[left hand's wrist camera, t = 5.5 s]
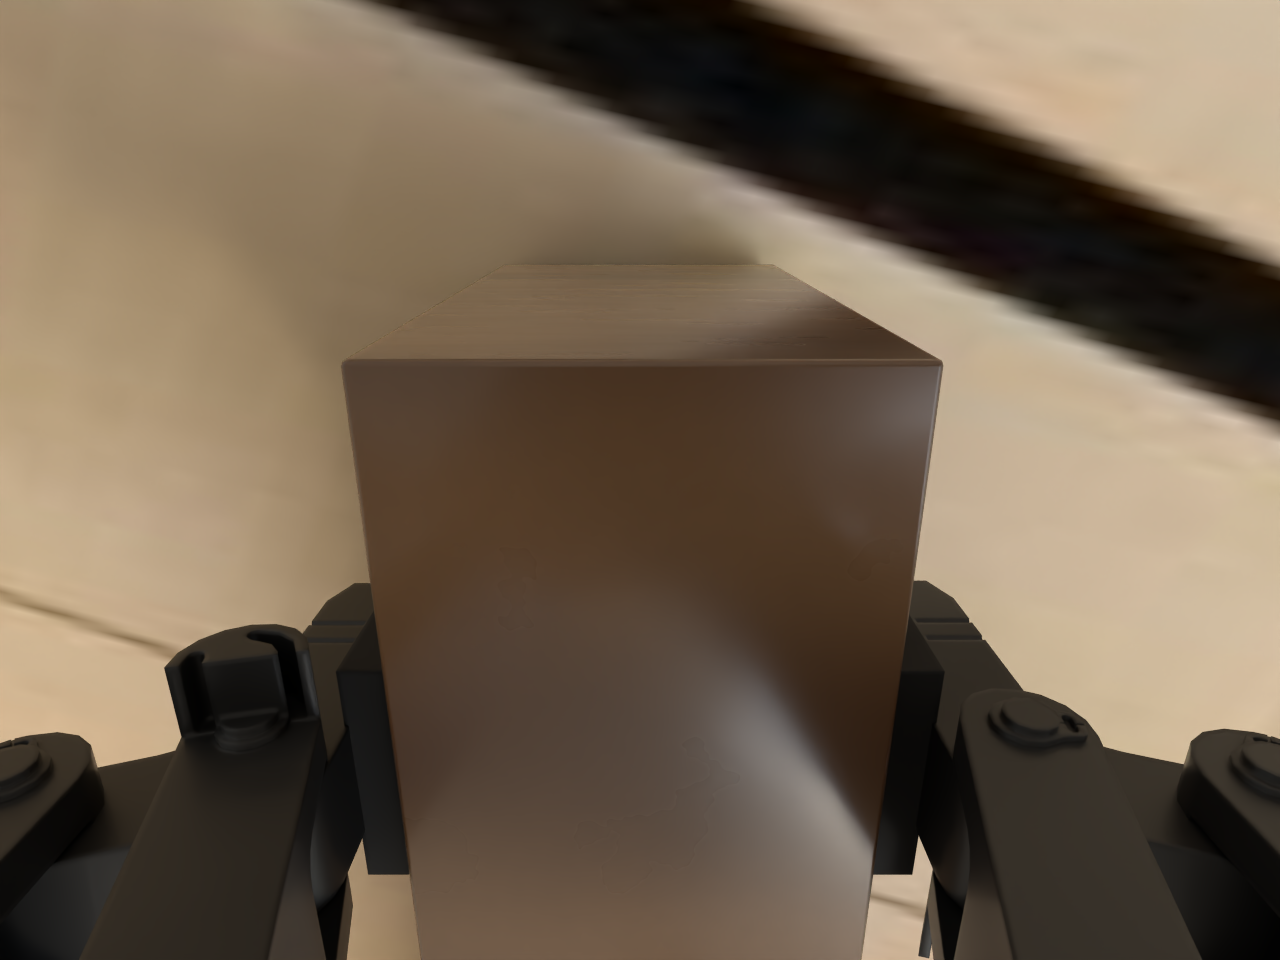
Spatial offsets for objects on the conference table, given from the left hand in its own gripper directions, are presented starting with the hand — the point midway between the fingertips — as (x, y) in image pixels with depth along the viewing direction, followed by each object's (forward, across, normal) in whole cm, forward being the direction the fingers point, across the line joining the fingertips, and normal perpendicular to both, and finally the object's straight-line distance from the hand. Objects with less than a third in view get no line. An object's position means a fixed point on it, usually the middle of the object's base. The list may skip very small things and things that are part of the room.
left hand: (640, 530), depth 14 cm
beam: (+1, 0, -32) cm, 32 cm away
